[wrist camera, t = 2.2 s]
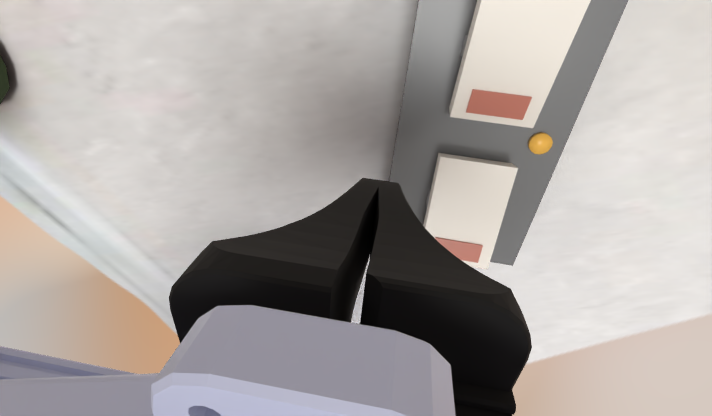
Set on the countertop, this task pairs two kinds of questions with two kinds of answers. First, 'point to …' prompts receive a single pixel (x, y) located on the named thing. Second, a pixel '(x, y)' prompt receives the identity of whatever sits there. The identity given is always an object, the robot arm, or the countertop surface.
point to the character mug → (3, 80)
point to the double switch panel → (485, 139)
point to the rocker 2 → (513, 58)
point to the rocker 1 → (468, 205)
